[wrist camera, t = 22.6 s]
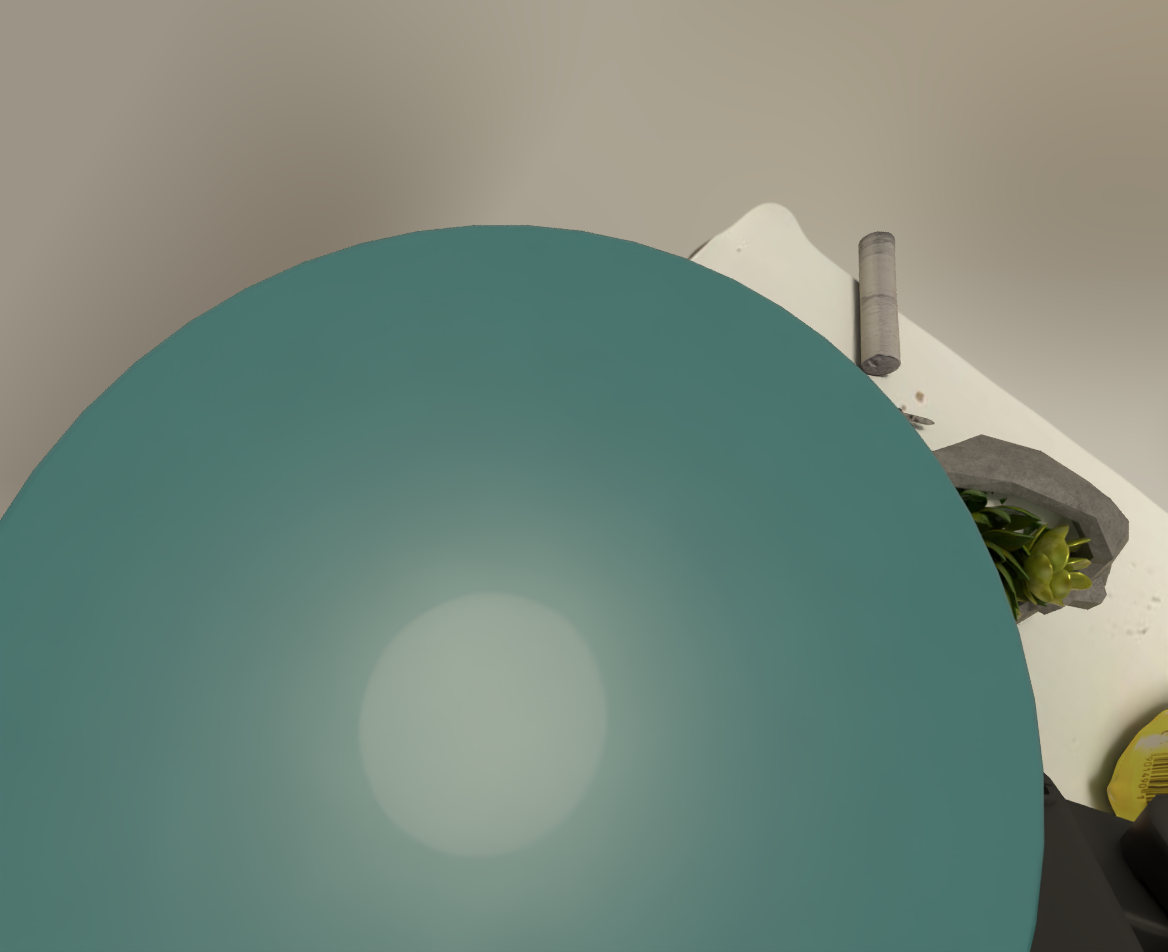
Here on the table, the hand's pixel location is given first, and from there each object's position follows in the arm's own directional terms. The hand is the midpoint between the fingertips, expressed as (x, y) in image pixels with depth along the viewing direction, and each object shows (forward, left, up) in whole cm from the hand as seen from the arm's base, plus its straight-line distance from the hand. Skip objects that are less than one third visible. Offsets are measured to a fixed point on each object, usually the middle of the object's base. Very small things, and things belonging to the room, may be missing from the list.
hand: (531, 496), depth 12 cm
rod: (+28, +26, -23) cm, 44 cm away
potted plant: (+27, +6, -26) cm, 38 cm away
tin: (0, -4, -3) cm, 5 cm away
